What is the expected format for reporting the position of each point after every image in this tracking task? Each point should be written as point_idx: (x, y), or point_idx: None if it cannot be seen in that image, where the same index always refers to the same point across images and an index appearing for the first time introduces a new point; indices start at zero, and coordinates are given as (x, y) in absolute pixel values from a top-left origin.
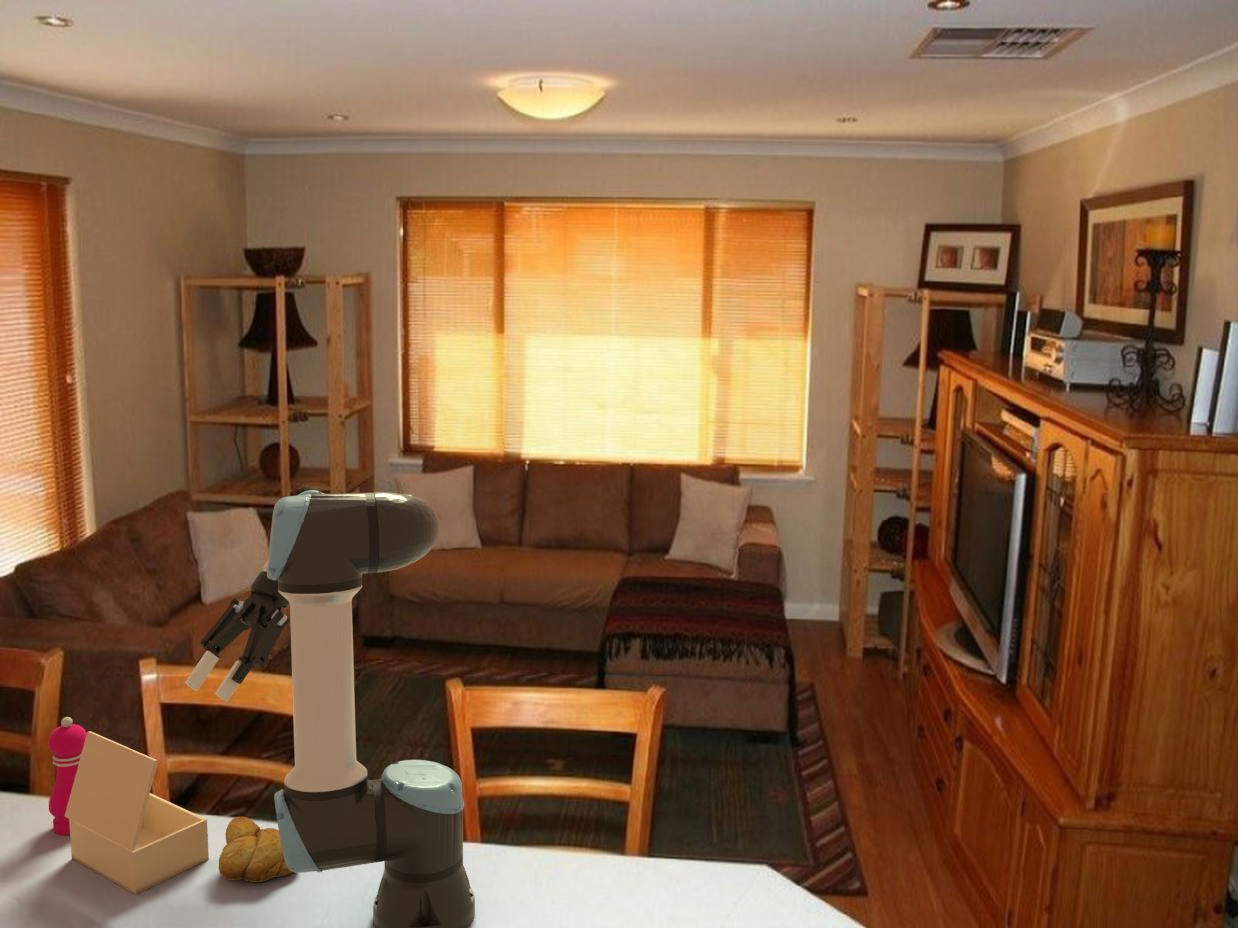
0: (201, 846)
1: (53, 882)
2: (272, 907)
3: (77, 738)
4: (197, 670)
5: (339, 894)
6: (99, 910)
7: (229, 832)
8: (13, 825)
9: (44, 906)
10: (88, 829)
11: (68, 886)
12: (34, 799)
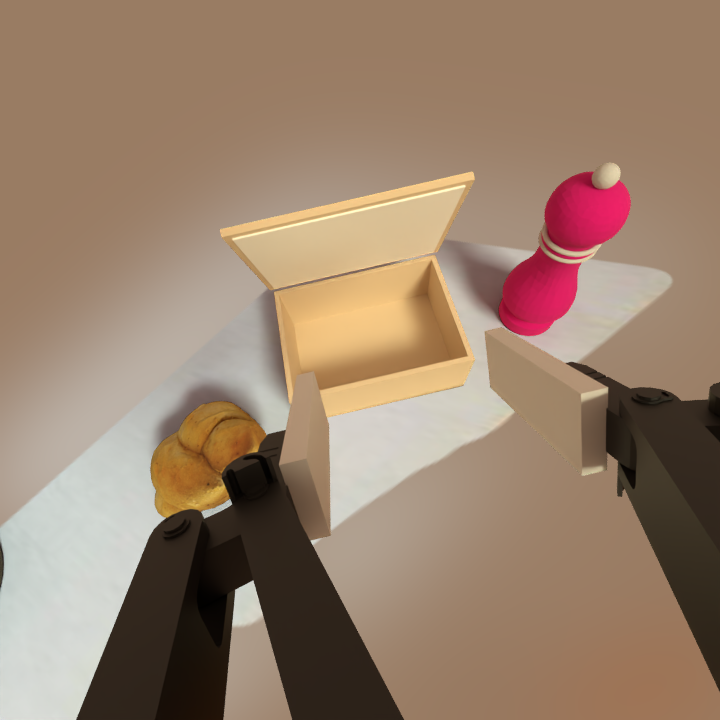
0: None
1: None
2: (132, 437)
3: (558, 210)
4: (514, 356)
5: (77, 526)
6: (288, 287)
7: (236, 420)
8: None
9: None
10: (384, 266)
11: None
12: (654, 293)
